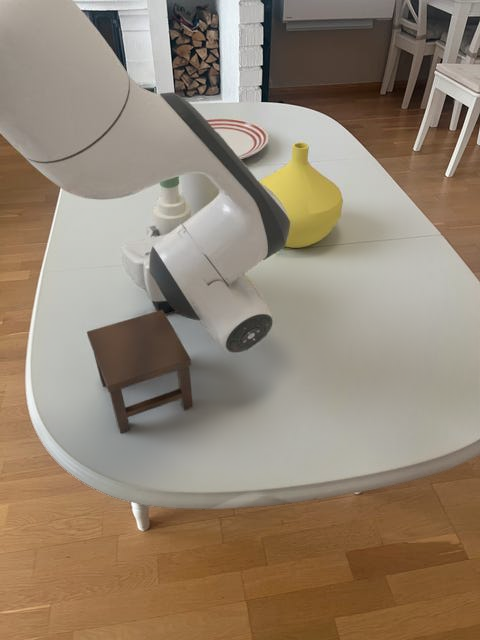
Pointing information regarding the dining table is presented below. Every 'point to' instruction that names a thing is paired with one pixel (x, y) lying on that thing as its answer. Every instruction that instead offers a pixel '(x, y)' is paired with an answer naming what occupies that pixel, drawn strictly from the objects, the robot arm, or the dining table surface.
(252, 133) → the dinner plate
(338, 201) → the vase
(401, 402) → the dining table surface
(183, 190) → the white cylinder
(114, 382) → the brown wooden stool
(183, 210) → the bottle
